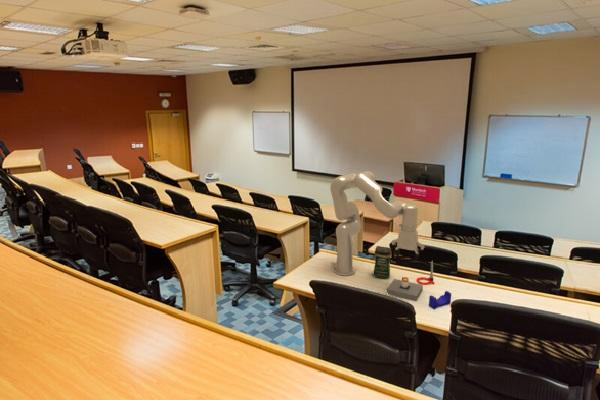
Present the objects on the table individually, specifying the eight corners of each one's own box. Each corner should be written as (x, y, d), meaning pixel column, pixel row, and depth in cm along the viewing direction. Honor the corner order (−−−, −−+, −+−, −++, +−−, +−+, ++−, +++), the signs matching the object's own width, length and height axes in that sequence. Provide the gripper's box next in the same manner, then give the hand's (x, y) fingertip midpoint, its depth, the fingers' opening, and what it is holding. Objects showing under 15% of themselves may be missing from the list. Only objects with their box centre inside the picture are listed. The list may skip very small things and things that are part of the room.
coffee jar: (372, 277, 222) (373, 248, 217) (375, 272, 229) (376, 243, 224) (388, 280, 218) (390, 250, 213) (391, 274, 225) (392, 245, 220)
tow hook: (418, 285, 212) (435, 285, 212) (418, 264, 209) (435, 264, 209) (414, 279, 220) (430, 278, 220) (415, 258, 217) (431, 258, 217)
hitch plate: (386, 293, 202) (386, 288, 201) (393, 283, 214) (394, 278, 213) (416, 301, 194) (416, 296, 194) (422, 289, 206) (422, 285, 206)
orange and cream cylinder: (400, 292, 204) (401, 279, 202) (401, 289, 207) (402, 276, 205) (406, 294, 202) (407, 280, 200) (408, 291, 205) (409, 278, 203)
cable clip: (443, 300, 196) (444, 289, 195) (450, 303, 192) (451, 293, 191) (426, 305, 191) (427, 294, 190) (433, 309, 187) (433, 298, 186)
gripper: (390, 227, 196) (388, 257, 200) (424, 232, 188) (421, 264, 192) (394, 223, 202) (392, 252, 207) (427, 228, 194) (424, 258, 198)
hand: (406, 258), depth 199 cm, fingers open, 9 cm apart
